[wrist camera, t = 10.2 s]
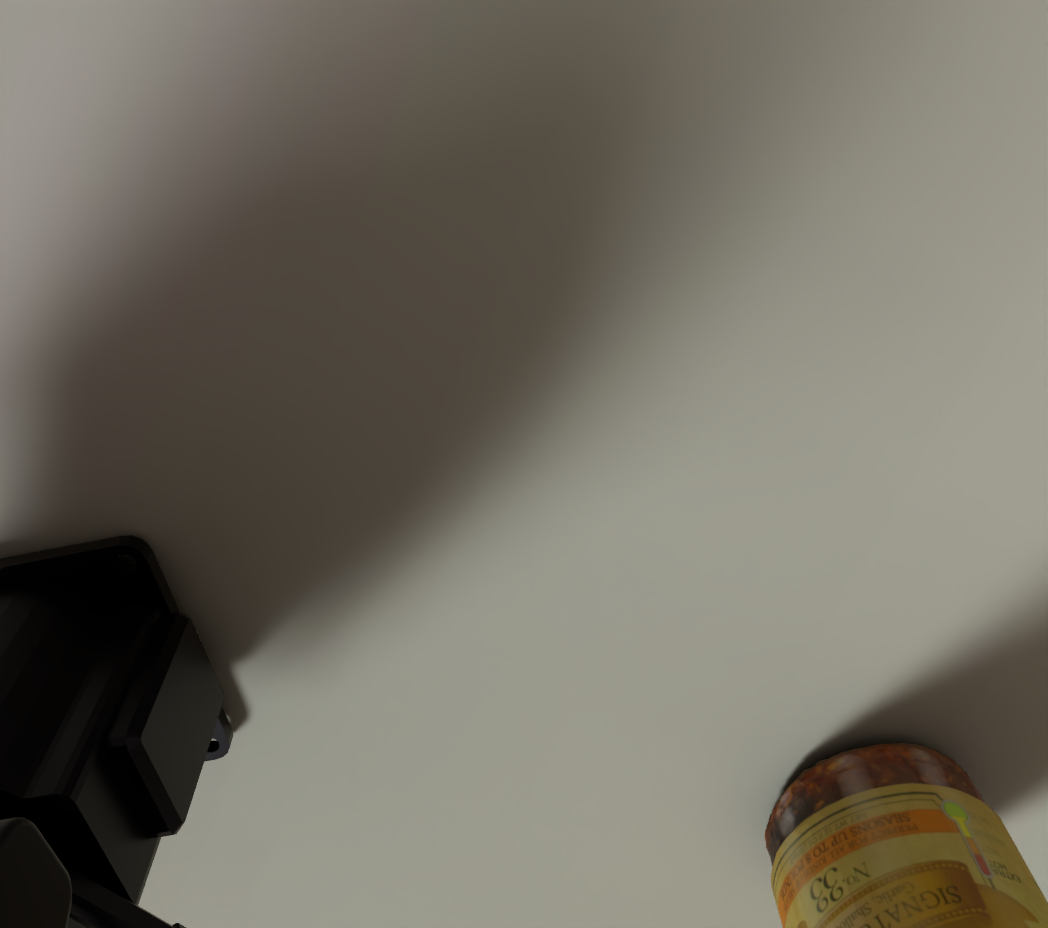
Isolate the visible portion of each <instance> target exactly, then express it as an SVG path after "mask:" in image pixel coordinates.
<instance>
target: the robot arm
mask: <svg viewBox="0 0 1048 928" xmlns="http://www.w3.org/2000/svg"><path fill="white" fill-rule="evenodd" d="M119 555H128V556H131V557H133V558H134V560H135V561H136V562H137V563H135V564H130V563H127V562H125V561H123V560H122V559H121V557H120V556H119ZM223 701H224V694H223V691H222V689H221V687H220V684H219V682H218V680H217V678H216V675H215V673H214V671H213V669H212V666H211V664H210V662H209V659H208V657H207V655H206V653H205V650H204V648H203V646H202V643H201V641H200V639H199V637H198V634H197V632H196V630H195V628H194V625H193V623H192V621H191V619H190V618H188V617H187V616H186V615H185V614H183V613H182V612H180V611H179V609H178V607H177V605H176V602H175V600H174V598H173V596H172V593H171V591H170V589H169V587H168V584H167V582H166V580H165V578H164V575H163V573H162V571H161V569H160V566H159V564H158V562H157V560H156V557H155V555H154V553H153V551H152V549H151V548H150V546H149V545H148V543H146V542H145V541H143V540H142V539H140V538H137V537H134V536H119V537H113V538H108V539H103V540H98V541H92V542H87V543H82V544H76V545H71V546H66V547H61V548H55V549H50V550H45V551H40V552H34V553H29V554H24V555H19V556H13V557H8V558H3V559H0V928H186V927H184V926H182V925H181V924H179V923H176V924H174V925H170V924H168V923H167V922H165V921H163V920H161V919H160V918H158V917H156V916H155V915H153V914H151V913H149V912H148V911H146V910H144V909H143V908H141V907H139V906H138V904H139V901H140V898H141V895H142V892H143V889H144V886H145V883H146V880H147V877H148V874H149V871H150V868H151V866H152V863H153V860H154V857H155V854H156V851H157V848H158V845H159V842H160V839H161V837H163V836H169V835H174V834H177V832H178V831H179V829H180V828H181V826H182V825H183V824H184V822H185V820H186V816H187V813H188V810H189V807H190V804H191V801H192V798H193V795H194V791H195V788H196V785H197V782H198V779H199V776H200V773H201V770H202V766H203V763H204V761H209V760H215V759H218V758H221V757H223V756H224V755H226V754H227V753H228V750H229V748H230V745H231V741H232V738H233V732H232V728H231V726H230V724H229V722H228V719H227V717H226V715H225V713H224V710H223V708H222V704H223ZM211 738H214V739H216V740H217V741H211Z"/></svg>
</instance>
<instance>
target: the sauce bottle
mask: <svg viewBox="0 0 1048 928" xmlns="http://www.w3.org/2000/svg"><path fill="white" fill-rule="evenodd" d="M765 840H766V848H767V850H768V852H769V855H770V857H771V862H772V867H773V868H772V874H771V885H772V890H773V894H774V898H775V901H776V905H777V908H778V912H779V915H780V919H781V922H782V926H783V928H1048V902H1047V901H1046V899H1045V897H1044V895H1043V893H1042V892H1041V890H1040V888H1039V886H1038V884H1037V883H1036V881H1035V879H1034V877H1033V876H1032V874H1031V872H1030V870H1029V868H1028V867H1027V865H1026V863H1025V861H1024V860H1023V858H1022V856H1021V854H1020V852H1019V851H1018V849H1017V847H1016V845H1015V844H1014V842H1013V840H1012V838H1011V836H1010V835H1009V833H1008V831H1007V829H1006V828H1005V826H1004V824H1003V822H1002V820H1001V819H1000V817H999V816H998V815H997V814H996V813H995V812H994V811H993V810H992V809H991V808H990V807H989V806H988V805H986V804H985V802H984V801H983V798H982V796H981V794H980V793H979V791H978V790H977V788H976V786H975V784H974V783H973V781H972V780H971V779H970V778H969V776H968V774H967V773H966V772H965V771H964V770H963V769H962V768H961V766H959V765H958V764H956V763H955V762H954V760H953V759H951V758H949V757H947V756H946V755H944V754H942V753H940V752H938V751H936V750H933V749H930V748H927V747H925V746H922V745H918V744H904V743H901V742H900V743H891V744H875V745H871V746H867V747H861V748H856V749H850V750H848V751H843V752H841V753H839V754H837V755H834V756H832V757H830V758H829V759H825V760H820V761H819V762H817V763H816V765H815V766H813V767H811V768H808V769H805V770H804V771H803V772H802V773H801V774H800V775H799V776H798V778H797V779H796V780H795V781H793V782H792V783H791V784H790V785H789V787H788V788H787V789H786V791H785V792H784V793H783V795H782V796H781V797H780V799H779V800H778V802H777V804H776V806H775V807H774V809H773V813H772V814H771V815H770V818H769V822H768V824H767V829H766V831H765Z"/></svg>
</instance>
